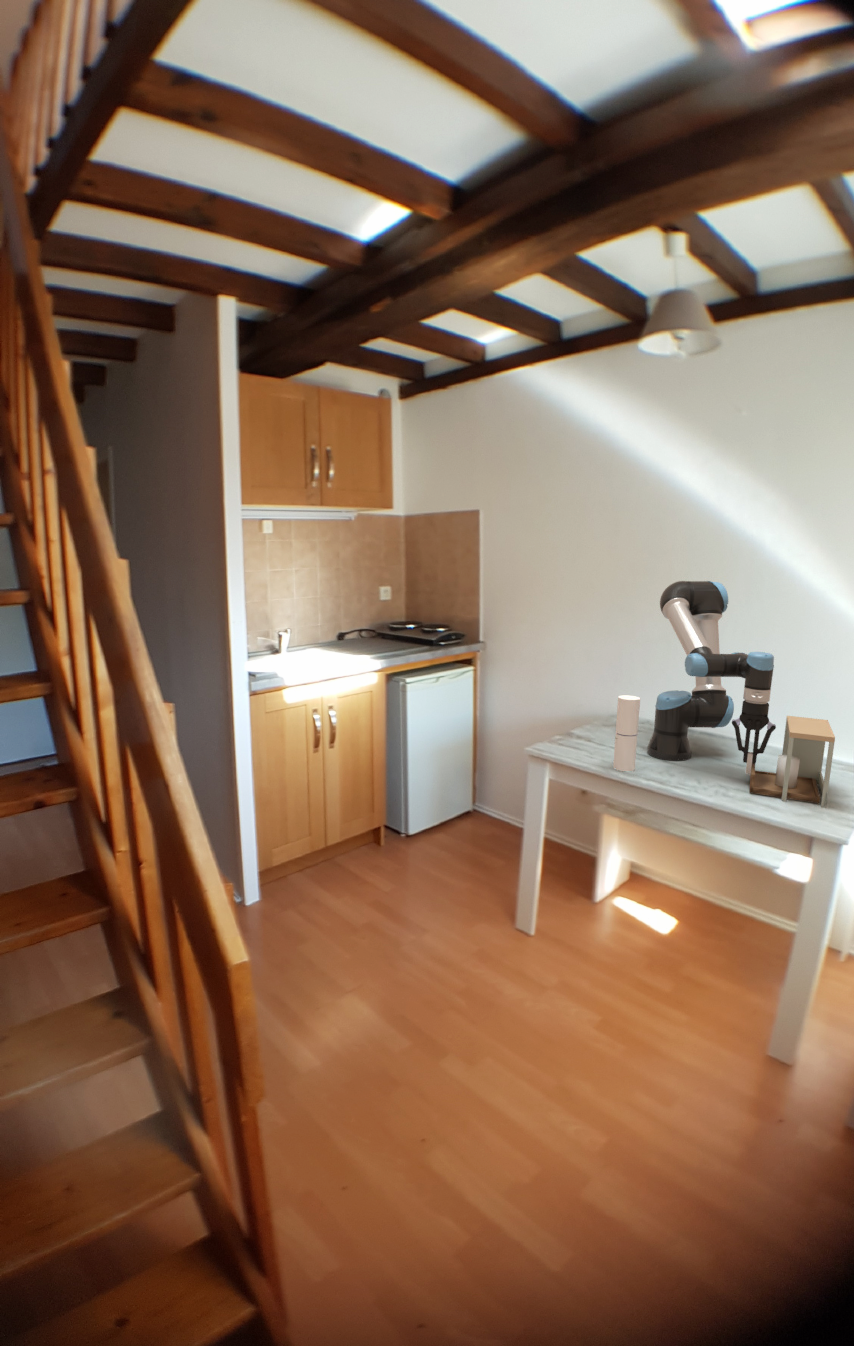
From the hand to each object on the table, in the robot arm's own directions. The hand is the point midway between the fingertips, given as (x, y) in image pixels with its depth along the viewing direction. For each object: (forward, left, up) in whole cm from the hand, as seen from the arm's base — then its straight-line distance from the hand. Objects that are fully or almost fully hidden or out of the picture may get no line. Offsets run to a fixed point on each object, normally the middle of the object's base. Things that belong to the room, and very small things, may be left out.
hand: (748, 772), depth 217 cm
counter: (+15, 0, -4) cm, 16 cm away
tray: (+10, 0, -4) cm, 11 cm away
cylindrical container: (-38, -3, -4) cm, 39 cm away
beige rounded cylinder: (+11, 0, -2) cm, 11 cm away
